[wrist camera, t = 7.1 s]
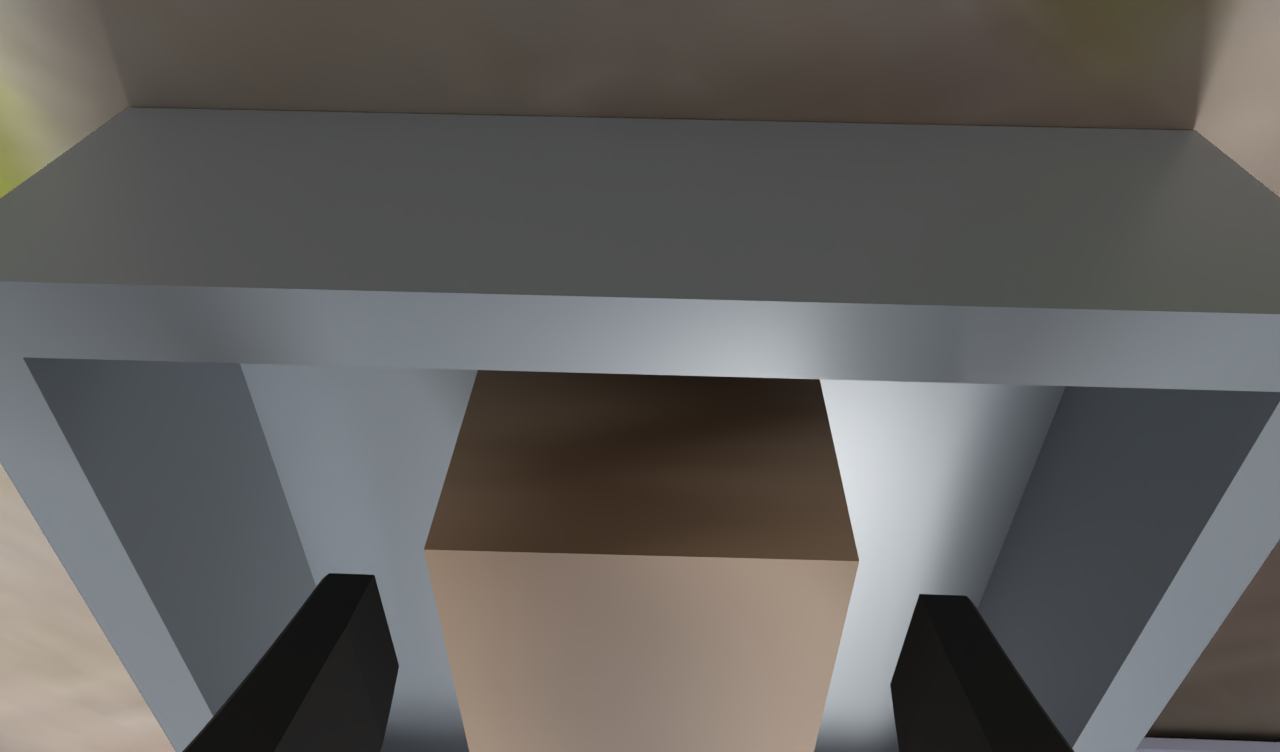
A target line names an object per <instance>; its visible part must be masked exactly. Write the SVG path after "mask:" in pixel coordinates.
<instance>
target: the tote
mask: <svg viewBox="0 0 1280 752" xmlns="http://www.w3.org/2000/svg"><path fill="white" fill-rule="evenodd" d="M478 370H499V371H535V372H571V373H608V374H644V375H680V376H717V377H753V378H789V379H820V383H821V387H822V392H823V396H824V401H825V406H826V410H827V415H828V419H829V424H830V429H831V433H832V438H833V442H834V447H835V452H836V456H837V461H838V465H839V470H840V475H841V479H842V484H843V488H844V493H845V498H846V502H847V507H848V511H849V516H850V521H851V525H852V530H853V534H854V539H855V544H856V548H857V553H858V557H859V565H858V569H857V573H856V577H855V582H854V586H853V590H852V594H851V598H850V603H849V607H848V611H847V615H846V619H845V624H844V628H843V632H842V636H841V640H840V645H839V649H838V653H837V657H836V661H835V666H834V670H833V674H832V678H831V682H830V687H829V691H828V695H827V699H826V703H825V708H824V712H823V716H822V720H821V724H820V728H819V733H818V737H817V741H816V745H815V749H814V752H899V747H898V740H897V733H896V726H895V718H894V711H893V703H892V695H891V687H890V683H891V680H892V677H893V674H894V671H895V668H896V665H897V662H898V659H899V656H900V652H901V649H902V646H903V643H904V640H905V637H906V634H907V631H908V628H909V625H910V622H911V618H912V615H913V612H914V609H915V606H916V603H917V600H918V597H919V594H933V595H961V596H967V597H968V598H969V599H970V600H971V601H972V602H973V604H974V605H975V607H976V608H977V610H978V611H979V613H980V615H981V616H982V618H983V619H984V621H985V622H986V624H987V625H988V627H989V629H990V630H991V632H992V633H993V635H994V636H995V638H996V639H997V641H998V642H999V644H1000V646H1001V647H1002V649H1003V650H1004V652H1005V653H1006V655H1007V656H1008V658H1009V659H1010V661H1011V662H1012V664H1013V665H1014V667H1015V668H1016V670H1017V671H1018V673H1019V674H1020V676H1021V677H1022V678H1023V680H1024V681H1025V683H1026V684H1027V686H1028V687H1029V689H1030V690H1031V692H1032V693H1033V695H1034V696H1035V698H1036V699H1037V700H1038V702H1039V703H1040V705H1041V706H1042V708H1043V709H1044V710H1045V712H1046V713H1047V715H1048V716H1049V717H1050V719H1051V720H1052V722H1053V723H1054V724H1055V726H1056V727H1057V729H1058V730H1059V731H1060V733H1061V734H1062V735H1063V737H1064V738H1065V739H1066V741H1067V742H1068V744H1069V745H1070V746H1071V748H1072V749H1073V750H1074V752H1134V751H1135V750H1136V748H1137V747H1138V745H1139V744H1140V742H1141V741H1142V740H1143V738H1144V737H1145V735H1146V734H1147V732H1148V731H1149V729H1150V728H1151V726H1152V725H1153V723H1154V722H1155V721H1156V719H1157V718H1158V716H1159V715H1160V713H1161V712H1162V710H1163V709H1164V707H1165V706H1166V704H1167V703H1168V702H1169V700H1170V699H1171V697H1172V696H1173V694H1174V693H1175V691H1176V690H1177V688H1178V687H1179V685H1180V684H1181V683H1182V681H1183V680H1184V678H1185V677H1186V675H1187V674H1188V672H1189V671H1190V669H1191V668H1192V666H1193V665H1194V664H1195V662H1196V661H1197V659H1198V658H1199V656H1200V655H1201V653H1202V652H1203V650H1204V649H1205V647H1206V646H1207V645H1208V643H1209V642H1210V640H1211V639H1212V637H1213V636H1214V634H1215V633H1216V631H1217V630H1218V628H1219V627H1220V626H1221V624H1222V623H1223V621H1224V620H1225V618H1226V617H1227V615H1228V614H1229V612H1230V611H1231V609H1232V608H1233V607H1234V605H1235V604H1236V602H1237V601H1238V599H1239V598H1240V596H1241V595H1242V593H1243V592H1244V590H1245V589H1246V588H1247V586H1248V585H1249V583H1250V582H1251V580H1252V579H1253V577H1254V576H1255V574H1256V573H1257V571H1258V570H1259V569H1260V567H1261V566H1262V564H1263V563H1264V561H1265V560H1266V558H1267V557H1268V555H1269V554H1270V552H1271V551H1272V550H1273V548H1274V547H1275V545H1276V544H1277V542H1278V541H1279V539H1280V198H1279V197H1278V196H1277V195H1276V194H1274V193H1273V192H1272V191H1271V190H1269V189H1268V188H1267V187H1266V186H1264V185H1263V184H1262V183H1261V182H1259V181H1258V180H1257V179H1256V178H1254V177H1253V176H1252V175H1251V174H1249V173H1248V172H1247V171H1246V170H1244V169H1243V168H1242V167H1241V166H1239V165H1238V164H1237V163H1236V162H1234V161H1233V160H1232V159H1231V158H1229V157H1228V156H1227V155H1226V154H1224V153H1223V152H1222V151H1221V150H1219V149H1218V148H1217V147H1216V146H1214V145H1213V144H1212V143H1211V142H1209V141H1208V140H1207V139H1206V138H1204V137H1203V136H1202V135H1201V134H1199V133H1198V132H1197V131H1196V130H1150V129H1104V128H1058V127H1011V126H965V125H919V124H873V123H826V122H780V121H734V120H687V119H641V118H595V117H549V116H502V115H456V114H410V113H364V112H317V111H271V110H225V109H178V108H132V107H128V108H126V109H125V110H124V111H122V112H121V113H119V114H118V115H117V116H115V117H114V118H112V119H111V120H110V121H108V122H107V123H105V124H104V125H103V126H101V127H100V128H98V129H97V130H96V131H94V132H93V133H91V134H90V135H89V136H87V137H86V138H84V139H83V140H82V141H80V142H79V143H77V144H76V145H75V146H73V147H72V148H70V149H69V150H68V151H66V152H65V153H63V154H62V155H61V156H59V157H58V158H56V159H55V160H54V161H52V162H51V163H49V164H48V165H47V166H45V167H44V168H43V169H41V170H40V171H38V172H37V173H36V174H34V175H33V176H31V177H30V178H29V179H27V180H26V181H24V182H23V183H22V184H20V185H19V186H17V187H16V188H15V189H13V190H12V191H10V192H9V193H8V194H6V195H5V196H3V197H2V198H1V199H0V463H1V464H2V466H3V467H4V469H5V471H6V472H7V474H8V476H9V477H10V479H11V481H12V482H13V484H14V486H15V487H16V489H17V491H18V492H19V494H20V495H21V497H22V499H23V500H24V502H25V504H26V505H27V507H28V509H29V510H30V512H31V514H32V515H33V517H34V519H35V520H36V522H37V524H38V525H39V527H40V528H41V530H42V532H43V533H44V535H45V537H46V538H47V540H48V542H49V543H50V545H51V547H52V548H53V550H54V552H55V553H56V555H57V556H58V558H59V560H60V561H61V563H62V565H63V566H64V568H65V570H66V571H67V573H68V575H69V576H70V578H71V580H72V581H73V583H74V585H75V586H76V588H77V589H78V591H79V593H80V594H81V596H82V598H83V599H84V601H85V603H86V604H87V606H88V608H89V609H90V611H91V613H92V614H93V616H94V617H95V619H96V621H97V622H98V624H99V626H100V627H101V629H102V631H103V632H104V634H105V636H106V637H107V639H108V641H109V642H110V644H111V645H112V647H113V649H114V650H115V652H116V654H117V655H118V657H119V659H120V660H121V662H122V664H123V665H124V667H125V669H126V670H127V672H128V674H129V675H130V677H131V678H132V680H133V682H134V683H135V685H136V687H137V688H138V690H139V692H140V693H141V695H142V697H143V698H144V700H145V702H146V703H147V705H148V706H149V708H150V710H151V711H152V713H153V715H154V716H155V718H156V720H157V721H158V723H159V725H160V726H161V728H162V730H163V731H164V733H165V735H166V736H167V738H168V739H169V741H170V743H171V744H172V746H173V748H174V749H175V751H176V752H182V751H183V750H184V749H185V748H186V747H187V746H188V745H189V744H190V743H191V741H192V740H193V739H194V738H195V737H196V736H197V735H198V734H199V732H200V731H201V730H202V729H203V728H204V727H205V726H206V724H207V723H208V722H209V721H210V720H211V719H212V717H213V716H214V715H215V714H216V713H217V711H218V710H219V709H220V708H221V707H222V705H223V704H224V703H225V702H226V701H227V699H228V698H229V697H230V696H231V694H232V693H233V692H234V691H235V690H236V688H237V687H238V686H239V685H240V684H241V682H242V681H243V680H244V679H245V678H246V676H247V675H248V674H249V673H250V672H251V670H252V669H253V668H254V667H255V665H256V664H257V663H258V662H259V660H260V659H261V658H262V657H263V655H264V654H265V653H266V652H267V650H268V649H269V648H270V647H271V645H272V644H273V643H274V642H275V640H276V639H277V638H278V636H279V635H280V634H281V633H282V631H283V630H284V629H285V627H286V626H287V625H288V623H289V622H290V621H291V620H292V618H293V617H294V616H295V614H296V613H297V612H298V610H299V609H300V608H301V606H302V605H303V604H304V602H305V601H306V600H307V599H308V597H309V596H310V595H311V593H312V592H313V591H314V589H315V588H316V587H317V585H318V584H319V583H320V581H321V580H322V579H323V578H324V577H325V576H326V575H328V574H329V573H340V574H368V575H375V579H376V583H377V586H378V590H379V594H380V597H381V601H382V605H383V609H384V612H385V616H386V620H387V623H388V627H389V631H390V634H391V638H392V642H393V645H394V649H395V653H396V656H397V660H398V664H399V669H398V674H397V679H396V684H395V689H394V694H393V699H392V704H391V709H390V714H389V718H388V723H387V727H386V732H385V736H384V741H383V745H382V748H381V751H380V752H469V748H468V743H467V739H466V734H465V730H464V726H463V721H462V717H461V712H460V708H459V703H458V699H457V695H456V690H455V686H454V681H453V677H452V672H451V668H450V664H449V659H448V655H447V650H446V646H445V641H444V637H443V633H442V628H441V624H440V619H439V615H438V610H437V606H436V602H435V597H434V593H433V588H432V584H431V579H430V575H429V570H428V566H427V562H426V557H425V553H424V547H425V544H426V541H427V537H428V534H429V531H430V527H431V524H432V521H433V517H434V514H435V511H436V507H437V504H438V501H439V498H440V494H441V491H442V488H443V484H444V481H445V478H446V474H447V471H448V468H449V464H450V461H451V458H452V454H453V451H454V448H455V444H456V441H457V438H458V435H459V431H460V428H461V425H462V421H463V418H464V415H465V411H466V408H467V405H468V401H469V398H470V395H471V391H472V388H473V385H474V381H475V378H476V375H477V371H478Z"/></svg>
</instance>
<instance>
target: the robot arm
mask: <svg viewBox="0 0 1280 752" xmlns="http://www.w3.org/2000/svg"><path fill="white" fill-rule="evenodd" d="M398 669H399V664H398V660H397V656H396V653H395V649H394V645H393V642H392V638H391V634H390V631H389V627H388V623H387V620H386V616H385V612H384V609H383V605H382V601H381V597H380V594H379V590H378V586H377V583H376V579H375V575H368V574H340V573H329V574H328V575H326V576H325V577H324V578H323V579H322V580H321V581H320V583H319V584H318V585H317V587H316V588H315V589H314V591H313V592H312V593H311V595H310V596H309V597H308V599H307V600H306V601H305V602H304V604H303V605H302V606H301V608H300V609H299V610H298V612H297V613H296V614H295V616H294V617H293V618H292V620H291V621H290V622H289V623H288V625H287V626H286V627H285V629H284V630H283V631H282V633H281V634H280V635H279V636H278V638H277V639H276V640H275V642H274V643H273V644H272V645H271V647H270V648H269V649H268V650H267V652H266V653H265V654H264V655H263V657H262V658H261V659H260V660H259V662H258V663H257V664H256V665H255V667H254V668H253V669H252V670H251V672H250V673H249V674H248V675H247V676H246V678H245V679H244V680H243V681H242V682H241V684H240V685H239V686H238V687H237V688H236V690H235V691H234V692H233V693H232V694H231V696H230V697H229V698H228V699H227V701H226V702H225V703H224V704H223V705H222V707H221V708H220V709H219V710H218V711H217V713H216V714H215V715H214V716H213V717H212V719H211V720H210V721H209V722H208V723H207V724H206V726H205V727H204V728H203V729H202V730H201V731H200V732H199V734H198V735H197V736H196V737H195V738H194V739H193V740H192V741H191V743H190V744H189V745H188V746H187V747H186V748H185V749H184V750H183V751H182V752H380V751H381V748H382V745H383V741H384V736H385V732H386V727H387V723H388V718H389V714H390V709H391V704H392V699H393V694H394V689H395V684H396V679H397V674H398ZM890 687H891V695H892V703H893V711H894V718H895V726H896V733H897V740H898V747H899V752H1074V750H1073V749H1072V748H1071V746H1070V745H1069V744H1068V742H1067V741H1066V739H1065V738H1064V737H1063V735H1062V734H1061V733H1060V731H1059V730H1058V729H1057V727H1056V726H1055V724H1054V723H1053V722H1052V720H1051V719H1050V717H1049V716H1048V715H1047V713H1046V712H1045V710H1044V709H1043V708H1042V706H1041V705H1040V703H1039V702H1038V700H1037V699H1036V698H1035V696H1034V695H1033V693H1032V692H1031V690H1030V689H1029V687H1028V686H1027V684H1026V683H1025V681H1024V680H1023V678H1022V677H1021V676H1020V674H1019V673H1018V671H1017V670H1016V668H1015V667H1014V665H1013V664H1012V662H1011V661H1010V659H1009V658H1008V656H1007V655H1006V653H1005V652H1004V650H1003V649H1002V647H1001V646H1000V644H999V642H998V641H997V639H996V638H995V636H994V635H993V633H992V632H991V630H990V629H989V627H988V625H987V624H986V622H985V621H984V619H983V618H982V616H981V615H980V613H979V611H978V610H977V608H976V607H975V605H974V604H973V602H972V601H971V600H970V599H969V598H968V597H967V596H961V595H933V594H919V597H918V600H917V603H916V606H915V609H914V612H913V615H912V618H911V622H910V625H909V628H908V631H907V634H906V637H905V640H904V643H903V646H902V649H901V652H900V656H899V659H898V662H897V665H896V668H895V671H894V674H893V677H892V680H891V683H890ZM1134 752H1280V742H1264V741H1236V740H1208V739H1180V738H1152V737H1144V738H1143V740H1142V741H1141V742H1140V744H1139V745H1138V747H1137V748H1136V750H1135V751H1134Z"/></svg>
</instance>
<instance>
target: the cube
mask: <svg viewBox="0 0 1280 752" xmlns="http://www.w3.org/2000/svg"><path fill="white" fill-rule="evenodd" d="M424 553H425V557H426V562H427V566H428V570H429V575H430V579H431V584H432V588H433V593H434V597H435V602H436V606H437V610H438V615H439V619H440V624H441V628H442V633H443V637H444V641H445V646H446V650H447V655H448V659H449V664H450V668H451V672H452V677H453V681H454V686H455V690H456V695H457V699H458V703H459V708H460V712H461V717H462V721H463V726H464V730H465V734H466V739H467V743H468V748H469V752H814V749H815V745H816V741H817V737H818V733H819V728H820V724H821V720H822V716H823V712H824V708H825V703H826V699H827V695H828V691H829V687H830V682H831V678H832V674H833V670H834V666H835V661H836V657H837V653H838V649H839V645H840V640H841V636H842V632H843V628H844V624H845V619H846V615H847V611H848V607H849V603H850V598H851V594H852V590H853V586H854V582H855V577H856V573H857V569H858V565H859V557H858V553H857V548H856V544H855V539H854V534H853V530H852V525H851V521H850V516H849V511H848V507H847V502H846V498H845V493H844V488H843V484H842V479H841V475H840V470H839V465H838V461H837V456H836V452H835V447H834V442H833V438H832V433H831V429H830V424H829V419H828V415H827V410H826V406H825V401H824V396H823V392H822V387H821V383H820V379H789V378H753V377H717V376H680V375H644V374H608V373H571V372H535V371H499V370H478V371H477V375H476V378H475V381H474V385H473V388H472V391H471V395H470V398H469V401H468V405H467V408H466V411H465V415H464V418H463V421H462V425H461V428H460V431H459V435H458V438H457V441H456V444H455V448H454V451H453V454H452V458H451V461H450V464H449V468H448V471H447V474H446V478H445V481H444V484H443V488H442V491H441V494H440V498H439V501H438V504H437V507H436V511H435V514H434V517H433V521H432V524H431V527H430V531H429V534H428V537H427V541H426V544H425V547H424Z"/></svg>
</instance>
